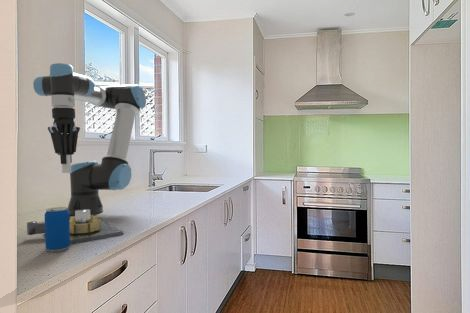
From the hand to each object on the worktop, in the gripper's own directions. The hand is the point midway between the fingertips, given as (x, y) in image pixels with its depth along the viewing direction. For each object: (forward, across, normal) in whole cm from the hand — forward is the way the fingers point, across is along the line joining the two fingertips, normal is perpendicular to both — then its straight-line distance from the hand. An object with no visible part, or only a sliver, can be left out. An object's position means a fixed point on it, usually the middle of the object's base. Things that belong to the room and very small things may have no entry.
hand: (66, 172), depth 128 cm
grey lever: (+19, -9, -7) cm, 22 cm away
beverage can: (+20, -22, -17) cm, 34 cm away
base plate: (+21, -6, -11) cm, 24 cm away
